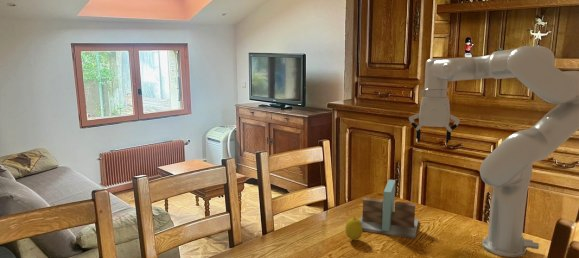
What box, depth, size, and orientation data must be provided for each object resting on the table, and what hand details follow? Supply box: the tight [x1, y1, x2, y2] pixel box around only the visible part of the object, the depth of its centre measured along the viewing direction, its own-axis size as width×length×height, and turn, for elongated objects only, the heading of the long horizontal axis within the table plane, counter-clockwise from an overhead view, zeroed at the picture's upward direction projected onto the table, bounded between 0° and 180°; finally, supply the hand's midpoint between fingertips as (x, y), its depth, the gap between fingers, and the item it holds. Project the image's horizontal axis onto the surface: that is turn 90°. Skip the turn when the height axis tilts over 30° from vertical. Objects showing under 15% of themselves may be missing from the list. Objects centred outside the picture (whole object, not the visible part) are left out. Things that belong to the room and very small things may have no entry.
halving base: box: [358, 197, 419, 239], centre depth 154 cm, size 20×15×9 cm
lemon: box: [345, 217, 363, 241], centre depth 142 cm, size 6×6×8 cm
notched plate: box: [382, 179, 396, 231], centre depth 153 cm, size 14×2×14 cm, turn 160°
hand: (432, 141), depth 155 cm, fingers open, 9 cm apart
